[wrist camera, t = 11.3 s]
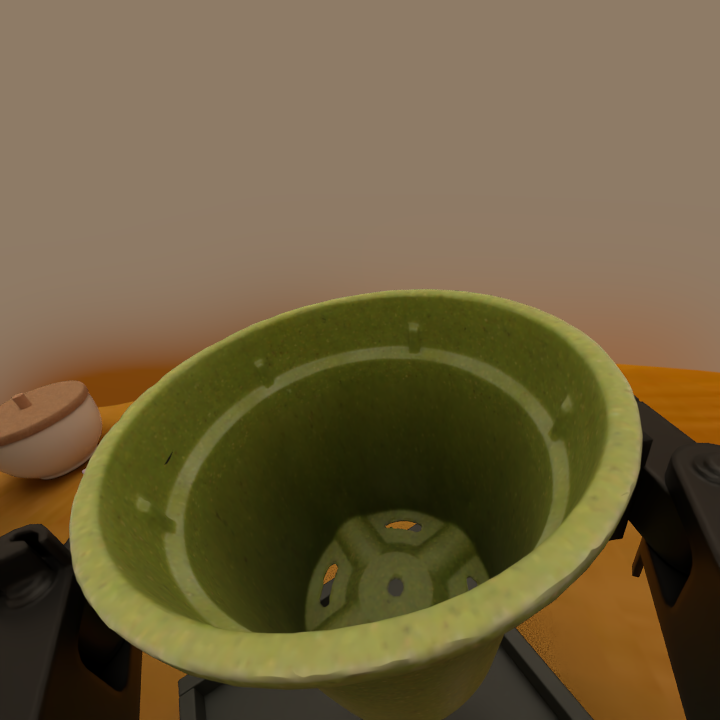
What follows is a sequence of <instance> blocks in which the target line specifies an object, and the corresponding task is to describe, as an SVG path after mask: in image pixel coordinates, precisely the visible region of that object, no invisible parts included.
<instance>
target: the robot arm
mask: <svg viewBox="0 0 720 720" xmlns="http://www.w3.org/2000/svg"><path fill="white" fill-rule="evenodd" d="M634 398H635V400H636V402H637V405H638V409H639V414H640V421H641V427H642V434H643V439H642V454H641V465H640V471H639V475H638V478H637V482H636V486H635V488H634V491H633V493H632V495H631V498H630V500H629V503H628V505H627V508H626V510H625V512H624V514H623V516H622V518H621V520H620V521H619V523H618V525H617V527H616V529H615V531H614V533H613V535H612V536H611V538H610V539H609V541H610V540H616V539H622V538H623V535H624V532H625V529H626V526H627V522H628V520H629V521H630V522H631V523H632V525H633V526H634V527H635V528H636V530H637V531H638V532H639V533H640V534H641V536H642V539H641V542H640V545H639V548H638V551H637V554H636V556H635V559H634V562H633V565H632V576H635V577H639V576H640V574H641V571H642V569H643V566H644V569H645V573H646V576H647V580H648V583H649V587H650V590H651V594H652V598H653V601H654V605H655V608H656V612H657V615H658V619H659V623H660V626H661V630H662V633H663V637H664V641H665V644H666V648H667V651H668V655H669V658H670V662H671V666H672V669H673V673H674V676H675V680H676V683H677V687H678V691H679V694H680V698H681V701H682V705H683V708H684V712H685V716H686V719H687V720H720V445H715V444H710V443H696V442H695V441H694V440H692V439H691V438H690V437H688V436H687V435H686V434H684V433H683V432H682V431H680V430H679V429H678V428H676V427H675V426H674V425H673V424H671V423H670V422H669V421H667V420H666V419H665V418H663V417H662V416H661V415H659V414H658V413H657V412H655V411H654V410H653V409H652V408H650V407H649V406H648V405H646V404H645V403H644V402H640V401H639V399H638V398H637V397H636V396H634ZM173 450H174V449H173ZM172 453H173V451H172ZM172 453H171V454H170V456H169V457H168V459H167V461H166V463H165V464H167V463H168V461H169V460H170V458H171V455H172ZM141 666H142V650H140V649H138V648H137V647H135V646H133V645H132V644H130V643H129V642H128V641H126V640H125V639H124V638H122V637H121V636H120V635H118V634H117V633H116V632H115V631H113V630H112V629H110V628H109V627H108V626H107V625H106V624H105V623H104V621H103V620H102V619H101V618H100V617H99V615H98V614H97V612H96V611H95V610H94V608H93V607H92V606H91V605H90V604H89V602H88V601H87V599H86V598H85V596H84V594H83V591H82V589H81V587H80V585H79V584H78V582H77V580H76V576H75V573H74V570H73V564H72V556H71V549H70V538H69V539H68V540H67V542H66V543H65V544H64V545H63V544H62V543H61V542H60V541H59V540H58V539H57V538H56V537H55V536H54V535H53V534H52V533H51V532H50V531H49V530H48V529H47V528H46V527H45V526H43V525H42V524H29V525H26V526H23V527H21V528H18V529H15V530H13V531H11V532H9V533H7V534H5V535H3V536H1V537H0V720H139V713H140V689H141Z"/></svg>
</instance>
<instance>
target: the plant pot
mask: <svg viewBox="0 0 720 720" xmlns="http://www.w3.org/2000/svg"><path fill="white" fill-rule="evenodd" d="M642 439H643V434H642V427H641V421H640V414H639V409H638V405H637V402H636V400H635V398H634V395H633V392H632V389H631V387H630V385H629V383H628V381H627V379H626V378H625V377H624V375H623V374H622V372H621V371H620V369H619V368H618V367H617V366H616V364H615V363H614V361H613V360H612V359H611V358H610V357H609V356H608V354H607V353H606V352H605V351H604V350H603V349H602V348H601V346H599V345H598V344H597V343H596V342H595V341H594V340H592V339H591V338H590V337H588V336H587V335H586V334H585V333H583V332H582V331H580V330H578V329H577V328H575V327H573V326H571V325H570V324H568V323H566V322H565V321H563V320H561V319H559V318H557V317H555V316H553V315H551V314H548V313H545V312H543V311H541V310H539V309H537V308H534V307H531V306H528V305H525V304H522V303H518V302H515V301H512V300H508V299H504V298H500V297H495V296H492V295H484V294H479V293H471V292H463V291H453V290H433V289H425V290H420V289H419V290H418V289H414V290H393V291H384V292H375V293H369V294H361V295H357V296H348V297H343V298H338V299H334V300H329V301H326V302H322V303H317V304H313V305H310V306H305V307H301V308H298V309H295V310H292V311H289V312H286V313H282V314H280V315H277V316H275V317H273V318H270V319H267V320H264V321H261V322H259V323H256V324H254V325H251V326H249V327H247V328H245V329H243V330H241V331H238V332H236V333H234V334H233V335H230V336H228V337H227V338H225V339H224V340H222V341H220V342H218V343H216V344H214V345H212V346H210V347H208V348H206V349H204V350H203V351H201V352H199V353H197V354H195V355H194V356H192V357H191V358H189V359H188V360H186V361H184V362H183V363H181V364H180V365H178V366H177V367H175V368H174V369H173V370H171V371H170V372H169V373H167V374H166V375H165V376H163V377H162V378H161V379H160V380H159V382H158V383H156V384H155V385H154V386H153V387H151V388H149V389H148V390H147V391H145V392H144V393H143V394H142V395H141V396H140V397H139V398H138V399H137V400H136V401H135V402H134V403H133V404H132V405H130V406H129V407H128V409H127V410H126V411H125V413H124V414H123V415H122V417H121V418H120V420H119V421H118V422H117V423H116V424H115V425H114V426H113V427H112V428H111V429H110V431H109V432H108V433H107V434H106V435H105V436H104V437H103V439H102V440H101V442H100V443H99V445H98V447H97V448H96V450H95V452H94V453H93V455H92V456H91V458H90V460H89V463H88V465H87V467H86V470H85V472H84V475H83V477H82V480H81V482H80V485H79V488H78V491H77V493H76V495H75V498H74V501H73V505H72V510H71V517H70V525H69V533H70V549H71V556H72V564H73V570H74V573H75V576H76V580H77V582H78V584H79V585H80V587H81V589H82V591H83V594H84V596H85V598H86V599H87V601H88V602H89V604H90V605H91V606H92V607H93V608H94V610H95V611H96V612H97V614H98V615H99V617H100V618H101V619H102V620H103V621H104V623H105V624H106V625H107V626H108V627H109V628H110V629H112V630H113V631H115V632H116V633H117V634H118V635H120V636H121V637H122V638H124V639H125V640H126V641H128V642H129V643H130V644H132V645H133V646H135V647H137V648H138V649H140V650H142V651H143V652H145V653H147V654H148V655H150V656H152V657H154V658H156V659H158V660H160V661H162V662H164V663H166V664H168V665H170V666H172V667H174V668H176V669H178V670H180V671H182V672H184V673H186V674H188V675H190V676H194V677H199V678H203V679H207V680H211V681H216V682H220V683H224V684H228V685H232V686H237V687H250V688H266V689H282V690H294V689H312V688H318V689H319V690H321V691H322V692H323V693H324V694H326V695H327V696H328V697H329V698H331V699H332V700H334V701H335V702H336V703H338V704H339V705H341V706H342V707H344V708H345V709H347V710H348V711H350V712H351V713H353V714H354V715H356V716H358V717H360V718H362V719H363V720H442V719H444V718H446V717H447V716H449V715H450V714H452V713H453V712H454V711H456V710H457V709H458V708H460V707H461V706H462V705H463V704H464V703H465V702H466V701H467V700H468V699H469V698H470V697H471V696H472V695H473V694H474V692H475V691H476V690H477V689H478V687H479V686H480V685H481V683H482V682H483V680H484V678H485V677H486V675H487V673H488V671H489V669H490V667H491V665H492V662H493V660H494V657H495V655H496V653H497V650H498V648H499V645H500V643H501V641H502V638H503V636H504V634H505V633H507V632H508V631H510V630H512V629H514V628H515V627H517V626H519V625H520V624H521V623H523V622H524V621H526V620H527V619H529V618H530V617H531V616H533V615H534V614H536V613H537V612H539V611H540V610H542V609H543V608H544V607H546V606H547V605H549V604H550V603H552V602H553V601H554V600H556V599H557V598H558V597H559V596H560V595H561V594H562V593H563V592H564V591H565V590H566V589H567V588H568V587H569V586H570V585H571V584H572V583H573V582H574V581H575V580H577V579H578V578H579V577H580V576H581V575H582V574H583V573H584V572H585V571H586V570H587V569H588V567H589V566H590V565H591V564H592V562H593V561H594V560H595V559H596V557H597V556H598V555H599V554H600V552H601V551H602V550H603V549H604V547H605V546H606V544H607V542H608V541H609V539H610V538H611V536H612V535H613V533H614V531H615V529H616V527H617V525H618V523H619V521H620V520H621V518H622V516H623V514H624V512H625V510H626V508H627V505H628V503H629V500H630V498H631V495H632V493H633V491H634V488H635V486H636V482H637V478H638V475H639V471H640V465H641V454H642ZM173 449H174V450H173ZM172 451H173V453H172ZM171 453H172V455H171V458H170V460H169V461H168V463H167V464H165V463H166V461H167V459H168V457H169V456H170V454H171ZM398 521H409V522H414V523H417V524H418V525H420V526H421V527H422V528H421V531H419V532H414V531H410V530H405V529H398V528H397V529H393V528H392V527H390V528H386V527H385V526H387V525H388V524H390V523H394V522H398ZM333 564H336V565H337V566H338V570H337V573H336V575H335V579H334V581H333V584H332V589H331V592H330V593H331V594H330V596H329V605H328V606H326V607H323V605H321V603H320V597H321V594H322V589H323V580H324V577H325V574H326V572H327V570H328V569H329V567H330V566H331V565H333ZM468 577H470V578H472V579H473V580H474V581H476V583H477V585H478V586H477V587H475V588H473V589H471V590H470V591H469V589H468V586H467V578H468ZM394 579H398V580H400V581H401V582H402V583H403V591H402V593H401V594H400V596H393V595H391V594H390V593H389V592H388V588H389V583H390V582H391V581H392V580H394Z"/></svg>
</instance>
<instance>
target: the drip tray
mask: <svg viewBox="0 0 720 720" xmlns="http://www.w3.org/2000/svg"><path fill="white" fill-rule="evenodd" d="M421 528H422V527H421V526H420V525H418V524H415V525H414V526H412V527H411V528H409V529H408V530H410V531H414V532H419V531H421ZM334 579H335V578H333V579H332V580H330V581H329V582H327V583H326V584H324V585H323V589H322V594H321V597H320V603H321V605H323V607H326V606H328V605H329V596H330V594H331V593H330V592H331V589H332V584H333V581H334ZM467 586H468V589H469V591H470V590H471V589H473V588H475V587H477V586H478V585H477V583H476V581H474V580H473V579H472V578H470V577H468V578H467ZM402 591H403V583H402V582H401V581H400V580H398V579H394V580H392V581H391V582H390V583H389V588H388V592H389V593H390V594H391V595H393V596H400V594H401V593H402ZM178 687H179V712H180V720H363V719H362V718H360V717H358V716H356V715H354V714H353V713H351V712H350V711H348V710H347V709H345V708H344V707H342V706H341V705H339V704H338V703H336V702H335V701H334V700H332V699H331V698H329V697H328V696H327V695H326V694H324V693H323V692H322V691H321V690H319V689H318V688H312V689H294V690H282V689H266V688H250V687H237V686H232V685H228V684H224V683H220V682H216V681H211V680H207V679H203V678H199V677H194V676H190V675H186V676H185V677H183V678H182V679H180V680H179V681H178ZM442 720H593V718H592V717H591V716H590V715H589V714H588V712H587V711H586V710H585V709H584V708H583V707H582V705H581V704H580V703H579V702H578V701H577V700H576V698H575V697H574V696H573V695H572V694H571V692H570V691H569V690H568V689H567V688H566V687H565V685H564V684H563V683H562V682H561V681H560V680H559V678H558V677H557V676H556V675H555V674H554V672H553V671H552V670H551V669H550V668H549V667H548V665H547V664H546V663H545V662H544V661H543V660H542V658H541V657H540V656H539V655H538V654H537V652H536V651H535V650H534V649H533V648H532V647H531V645H530V644H529V643H528V642H527V641H526V640H525V638H524V637H523V636H522V635H521V634H520V632H519V631H518V630H517V629H516V628H514V629H512V630H510V631H508V632H507V633H505V634H504V636H503V638H502V641H501V643H500V645H499V648H498V650H497V653H496V655H495V657H494V660H493V662H492V665H491V667H490V669H489V671H488V673H487V675H486V677H485V678H484V680H483V682H482V683H481V685H480V686H479V687H478V689H477V690H476V691H475V692H474V694H473V695H472V696H471V697H470V698H469V699H468V700H467V701H466V702H465V703H464V704H463V705H462V706H461V707H460V708H458V709H457V710H456V711H454V712H453V713H452V714H450V715H449V716H447V717H446V718H444V719H442Z"/></svg>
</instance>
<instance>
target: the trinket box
mask: <svg viewBox="0 0 720 720" xmlns="http://www.w3.org/2000/svg"><path fill="white" fill-rule="evenodd" d="M101 432H102V419H101V416H100V413H99V410H98V408H97V406H96V404H95V402H94V400H93V399H92V397H91V396H90V394H89V393H88V389H87V388H86V386H85V385H84V384H83V383H82V382H79V381H64V382H59V383H54V384H51V385H47V386H44V387H40V388H38V389H35V390H32V391H30V392H27V393H25V394H24V393H19V394H16V395H14V396H13V397H11V400H9V401H7V402H5V403H3V404H2V405H0V471H1V472H3V473H6V474H8V475H11V476H14V477H20V478H40V479H45V480H46V479H53V478H56V477H59V476H62V475H64V474H66V473H69V472H70V471H72V470H74V469H76V468H77V467H79V466H80V465H82V464H83V463H85V462H86V461H87V460H88V459H89V458H90V457H91V456H92V455H93V453H94V452H95V450H96V448H97V447H98V444H97V443H98V441H99V439H100V436H101Z"/></svg>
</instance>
